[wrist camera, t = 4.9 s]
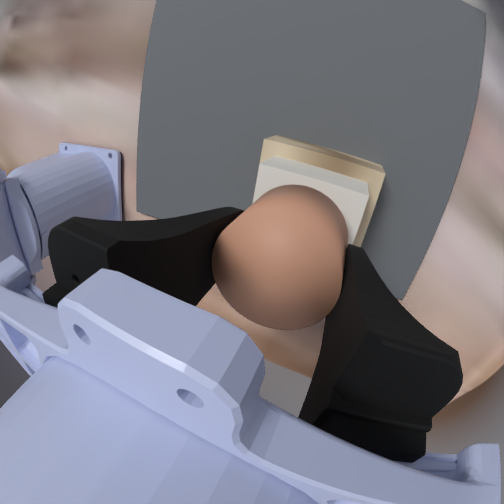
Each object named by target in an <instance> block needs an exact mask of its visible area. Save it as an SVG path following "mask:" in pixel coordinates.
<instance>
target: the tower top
mask: <svg viewBox="0 0 504 504" xmlns="http://www.w3.org/2000/svg"><path fill="white" fill-rule="evenodd" d="M292 184H294V185H303V186H308V187H311V188H314V189H316V190H318V191H320V192H322V193H323V194H325V195H326V196H328V197H329V198H330V199H331V200H332V201H333V202H334V203H335V204H336V205H337V206H338V208H339V209H340V211H341V212H342V214H343V216H344V218H345V221H346V224H347V229H348V244H352V245H353V242H354V239H355V236H356V234H357V231H358V228H359V225H360V222H361V219H362V216H363V213H364V210H365V207H366V204H367V201H368V198H369V190H368V183H367V182H364V181H361V180H358V179H355V178H352V177H349V176H346V175H343V174H340V173H336V172H333V171H330V170H326V169H323V168H320V167H316V166H313V165H309V164H306V163H302V162H298V161H295V160H291V159H287V158H283V157H279V156H273V157H271V158H269V159H267V160H265V161H264V162H262V163H260V164H259V170H258V175H257V181H256V186H255V192H254V198H253V203H254V202H255V201H256V200H257V199H258V198H260V197H261V196H262V195H263V194H265V193H266V192H267V191H269V190H271V189H273V188H276V187H279V186H283V185H292ZM347 247H348V245H347Z"/></svg>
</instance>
